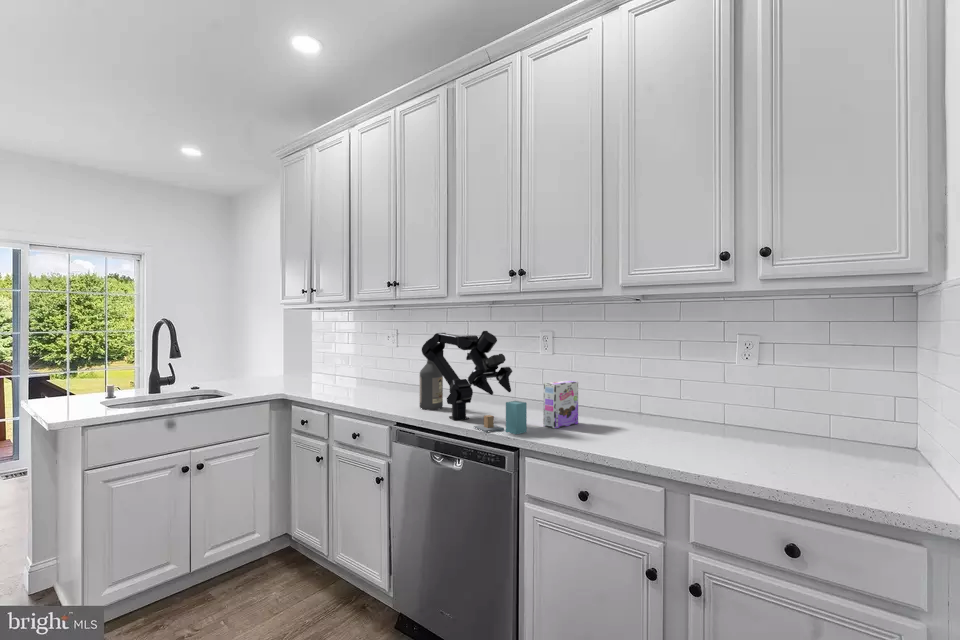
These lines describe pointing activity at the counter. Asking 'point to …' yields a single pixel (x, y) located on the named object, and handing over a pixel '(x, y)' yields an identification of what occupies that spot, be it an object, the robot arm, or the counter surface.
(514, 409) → the teal rectangular block
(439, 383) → the liquor
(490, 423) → the post stand
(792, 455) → the counter surface
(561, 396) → the candy box
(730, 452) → the counter surface
